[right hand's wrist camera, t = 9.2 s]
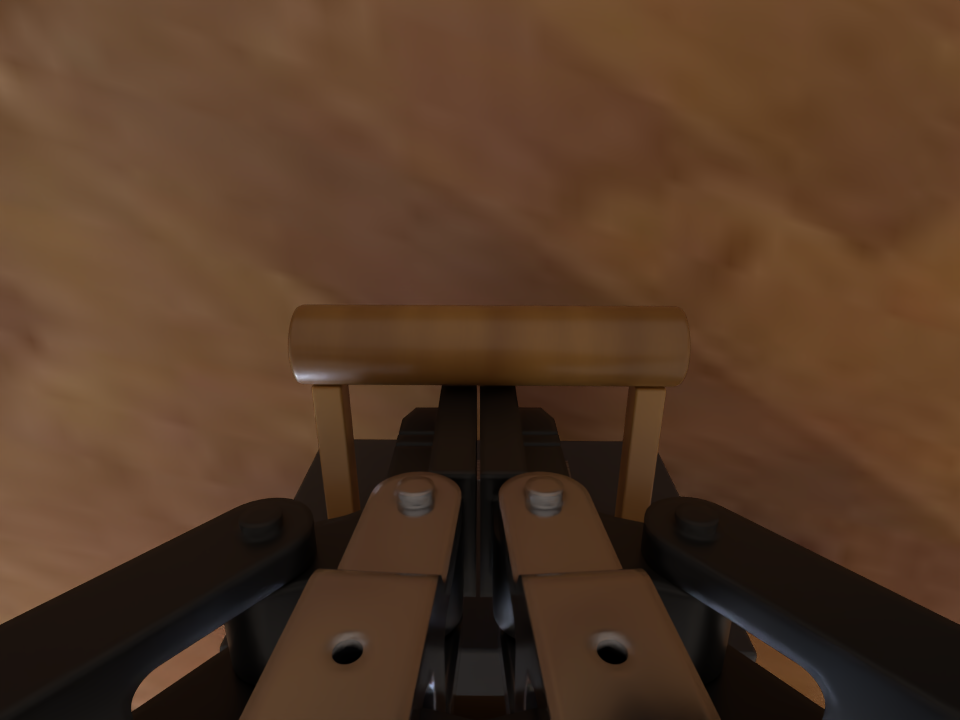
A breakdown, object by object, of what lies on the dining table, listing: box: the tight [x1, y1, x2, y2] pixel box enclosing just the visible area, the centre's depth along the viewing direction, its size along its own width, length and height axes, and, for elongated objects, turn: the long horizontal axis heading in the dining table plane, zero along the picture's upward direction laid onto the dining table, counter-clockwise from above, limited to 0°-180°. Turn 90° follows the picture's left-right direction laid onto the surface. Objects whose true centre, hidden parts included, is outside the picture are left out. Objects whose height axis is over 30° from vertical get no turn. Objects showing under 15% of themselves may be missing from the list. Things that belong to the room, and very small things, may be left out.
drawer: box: [220, 305, 757, 720], centre depth 17 cm, size 25×10×7 cm, turn 0°
